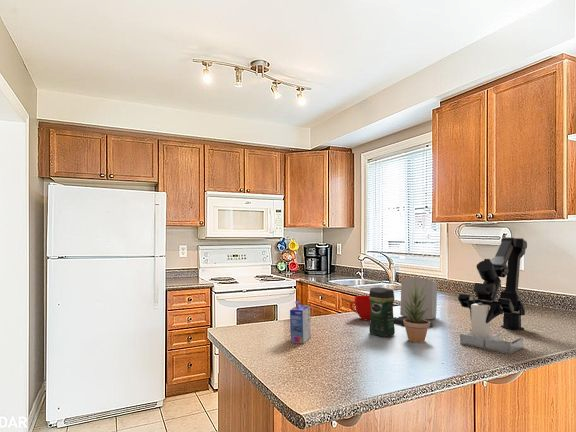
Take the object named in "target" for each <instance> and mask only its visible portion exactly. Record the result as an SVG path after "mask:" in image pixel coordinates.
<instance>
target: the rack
mask: <svg viewBox="0 0 576 432" xmlns="http://www.w3.org/2000/svg"><path fill="white" fill-rule="evenodd" d="M460 343H461V345H466V346H469V347H470V346H471V347H474V346H475V348H478V347H479V348H480V349H483V350H488V351H494V352H499V353H502V354H508V355H513V354H514V353H515V352H517V351H520V349H523V348H524V338H522V337H519V338H517V339H515V340H513V341H511V342H510V341H505V340H500V333H495V334H491V335H490V337H487V338H485V337H480V336H475V335H472V332H471V329H470V331H467V332H465V333H464V332H461V333H459V344H460Z"/></svg>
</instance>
